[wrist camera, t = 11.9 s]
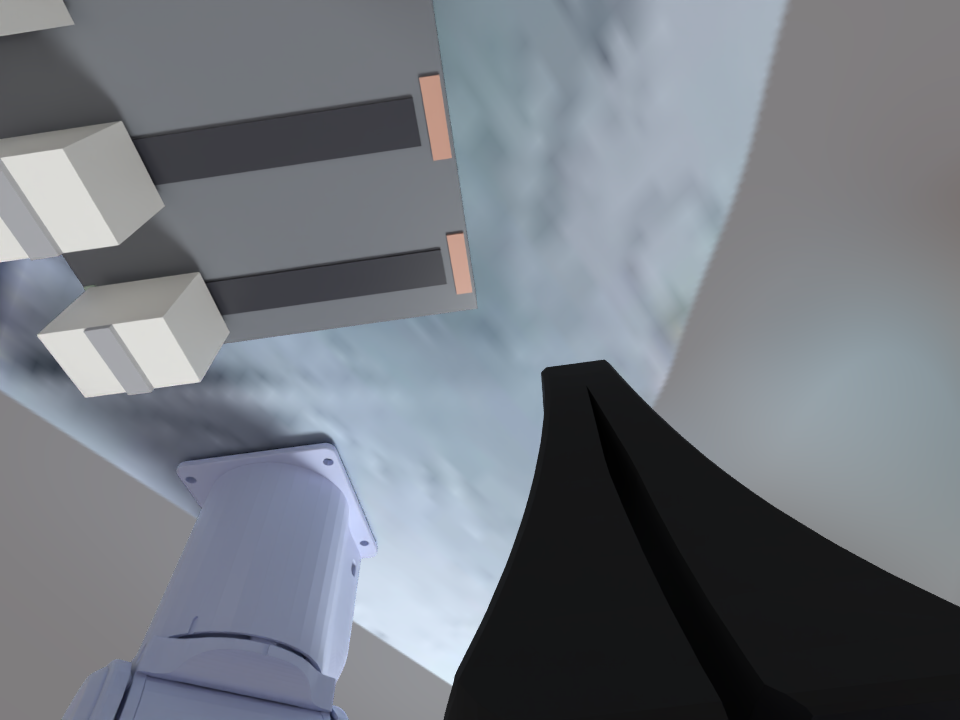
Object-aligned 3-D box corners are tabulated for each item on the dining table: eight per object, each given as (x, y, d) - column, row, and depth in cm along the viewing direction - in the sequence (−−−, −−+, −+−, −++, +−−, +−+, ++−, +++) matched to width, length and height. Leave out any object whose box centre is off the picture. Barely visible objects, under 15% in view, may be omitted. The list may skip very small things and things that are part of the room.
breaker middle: (164, 205, 17) (115, 248, 14) (45, 223, 17) (-25, 268, 14) (121, 120, 15) (57, 150, 13) (-9, 140, 15) (-100, 174, 13)
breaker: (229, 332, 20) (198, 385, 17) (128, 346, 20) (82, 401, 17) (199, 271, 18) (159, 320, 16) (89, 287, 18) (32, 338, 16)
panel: (475, 293, 21) (477, 310, 20) (144, 339, 22) (128, 357, 21) (403, -196, 13) (399, -211, 12) (-138, -107, 13) (-187, -113, 12)
